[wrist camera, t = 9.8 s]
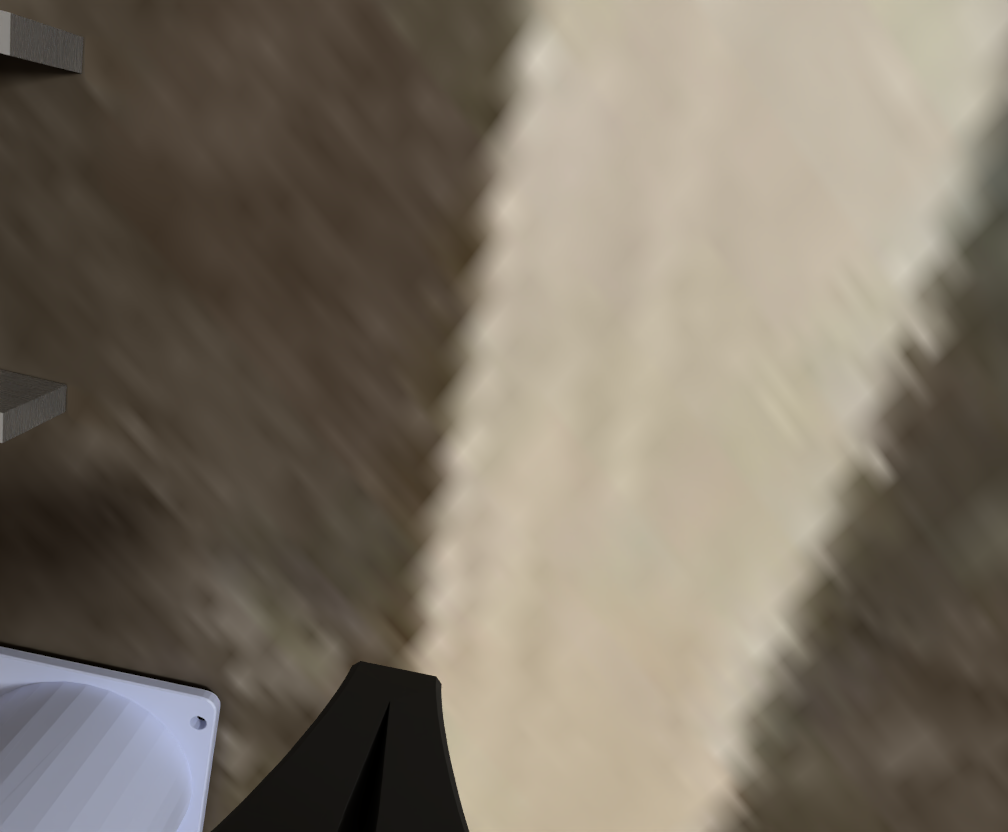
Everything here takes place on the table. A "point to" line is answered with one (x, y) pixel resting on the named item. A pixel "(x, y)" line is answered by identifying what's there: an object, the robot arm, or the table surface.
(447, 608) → the table surface
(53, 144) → the table surface
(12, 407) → the frame
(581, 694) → the table surface
